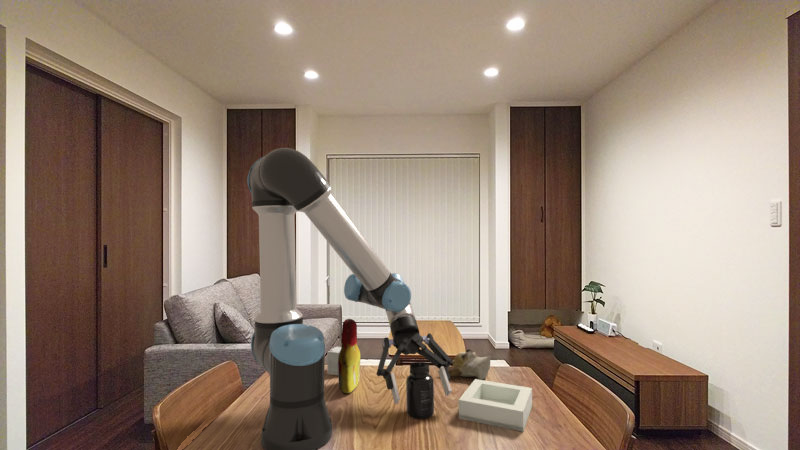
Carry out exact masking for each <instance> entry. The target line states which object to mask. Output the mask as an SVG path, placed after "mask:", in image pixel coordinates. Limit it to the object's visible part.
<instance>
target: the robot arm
mask: <svg viewBox="0 0 800 450" xmlns="http://www.w3.org/2000/svg"><path fill="white" fill-rule="evenodd" d="M247 186H248V189H249V191H250V193H251V207H252V210H253V211H254V212H255V213H256V214H257V215H258V233H259V235H258V239H259V282H260V285H259V286H260V287H259V288H260V289H259V290H260V312H259V313H258V314H257V315H256V316H255V317H254V330H253V331H254V332H253V333H252V336H251V340H250V349H251V353H252V356H253V358H254V360H255V361H256V363H257V364H258V365H259V366H261V367H262V368H263V369H264V371H266V373H268V374H269V406H268V409H267V413H266V416H265V420H264V423H263V425H262V428H261V433H260V438H261V439H260V445H261V447H262V449H264V450H319V449H321V447H324V446H325V445H326V444H327V443H328V442H329V441H330V440H331V438H332V436H333V421H332V419H331V416H330V413H329V410H328V407H327V403H326V400H325V361H326V360H325V355H326V354H325V353H326V344H325V336H324V333H323V332H322V331H321V329H319V328H317V327H316V326H314V325H307V324H305V323H304V317H303V316H304V315H303V313H302V312H301V311H300V310H299V309H298V308H297V274H296V269H297V267H296V230H295V225H296V224H295V222H296V221H295V215H296V213H297V212H299V213H304V214H305V216H307V218H308V220H310V222H311V223H312V225H314V226H315V228H316V229H317V230H318V231H319V233H320V234H321V235H322V236H323V238H324V239H325V240H326V241H327V242H328V244H329V245H330V247H332V249H333V250H334V252H335V253H336V254H337V255H338V257H339V258H340V259H341V260H342V262H343V263H344V264H345V265H346V266H347V268H348V269H349V271H351V273H350V274H349V276H348V277H347V278H346V280H345V283H344V287H343V293H344V297H345V298H346V300H348V301H352V302H355V303H362V304H367V305H370V306H373V307H376V308H380V309H383V310H385V313H386V318H387V321H388V324H389V328H390V332H391V336H392V339H389V337H386V336H385V337H384V338H383V341H382V353H381V356H380V360H379V363H378V365H377V366H378V367H377V371H376V373H375V374H376V376H377V377H382V378H383V379H384V380H385V384H386V388H387V390H390V391H391V395H392V399H393V403H394V405H398V403H399V402H400V400H401V397H400V393H399V390H398V385H397V384H398V383H397V380H396V376H395V375H396V374H395V373H394V372H392V370H393V369H394V368H395V365H396V364H397V362H398V360H399V358H400V356H401V355H402V354H403V355H404V356H408V355H415V354H418V355H420V356H422V357H424V358H425V359H426V360H427V361H428V362H430V363H431V364H432V365H433V366H436V368H437V369H438V376H439V379H440V383H441V385H442V389H443V392H444V394H445V397H447V396H450V394H451V393H452V392H453V390H452V387H451V384H450V379H451V375H449V372H448V369H447V367H449V366H450V365H452V364H453V363H452V361H453V360H452V359H451V357H450V356H449V355H448V354H447V353H446V352H445V350H443V348H442V347H441V346H440V345H439V344H438V343H437V342H436V340H435V338H434V337H433V335H432V333H427V335H421V334H420V329H419V326H418V322H417V319H416V316H415V313H414V309H413V306H412V304H411V300H412V291H411V289H410V287H409V286H408V285H407V283H405V282H404V280H403V277H402V276H401V275H400V274H398V273H395V272H393V273H391V272H390V270H389V269H388V267H387V266H386V265H385V264H384V262H383V261H382V260H381V258H380V256H379V255H378V254H377V252H375V250H374V249H373V247H372V246H371V244H369V242H368V241H367V240H366V238H365V237H364V235H363V234H362V233H361V231H360V230H359V229H358V227H357V226H356V225H355V223H354V222H353V221H352V220H351V218H350V217H349V216H348V214H347V213H346V211H345V210H344V209H343V207H342V206H341V205H340V203H339V202H338V201H337V199H336V198H335V197H334V196H333V194H332V185H331V184H330V183H329V181H328V180H327V179H326V178H325V176H324V174H322V172H321V170H319V168H317V166H316V165H315V164H314V163H313V162H312V161H311V159H310V158H309V157H308V156H307V155H305V154H303V153H302V152H301V151H299V150H296V149H294V148H291V147H290V148H289V147H280V148H275V149H273V150H271V151H270V152H268V154H266V155H264V156H262V157H260V158H258V159H257V160H256V161H255V162H254V163H253V164H252V165H251V167H250V169H249V172H248V174H247ZM392 346H393V347H395V349H396V352H395V353H394V355H393V356H392V358H391V360H390V362H389V363H388V366H387V367H386V368H384V367H385V365H386V360H387V356H388V352H389V349H390V348H391V347H392ZM450 367H451V366H450Z"/></svg>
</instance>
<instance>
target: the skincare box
mask: <svg viewBox="0 0 800 450" xmlns="http://www.w3.org/2000/svg"><path fill="white" fill-rule="evenodd" d="M341 347H342V346H335V347H332V348H331V349H329V350H328V351H326V352H327V353H326V355H327V358H326V363H327V364H326V365H327V367H326V368H327V375H333V376H339V373H338V357H339V353H340V350H341Z"/></svg>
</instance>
